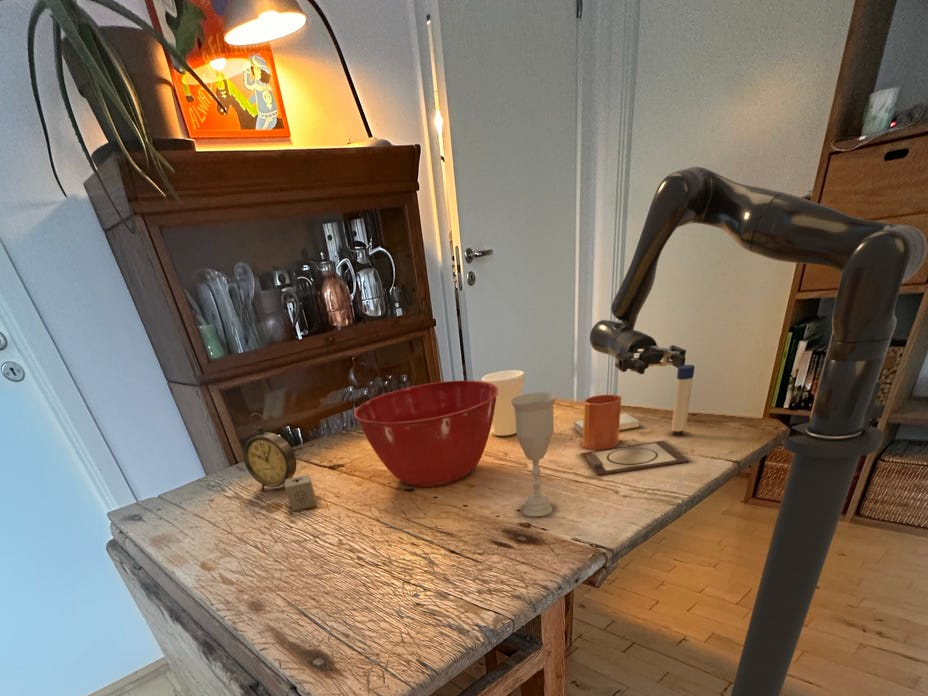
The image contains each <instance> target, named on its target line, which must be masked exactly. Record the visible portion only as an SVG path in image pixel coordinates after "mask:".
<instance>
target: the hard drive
mask: <svg viewBox="0 0 928 696" xmlns="http://www.w3.org/2000/svg"><path fill="white" fill-rule="evenodd" d="M639 427H640V421H639V419H637V418H635V417H633V416H632V415H630V414H628V413H626V412H623V413H620V430H619V431H625V430H629V429H634V428H639ZM573 429H574V430H575V431H577V433H579V434H580V435H582V436H583V420H578V421H574V422H573Z"/></svg>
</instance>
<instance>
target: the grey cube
mask: <svg viewBox="0 0 928 696" xmlns="http://www.w3.org/2000/svg"><path fill="white" fill-rule="evenodd" d="M284 490H285V494H286V496H287V499H288V503H289V505H290V508H291V511H292V512H296V511H300V510H305V509H309V508H313V507H317V506H318V503H317V502H318V501H317V495H316V493H315V489H314V486H313V482H312V480H311V476H310V474H304V475H300V476H296V477H292V478H291V479H286V480H285V483H284Z"/></svg>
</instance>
